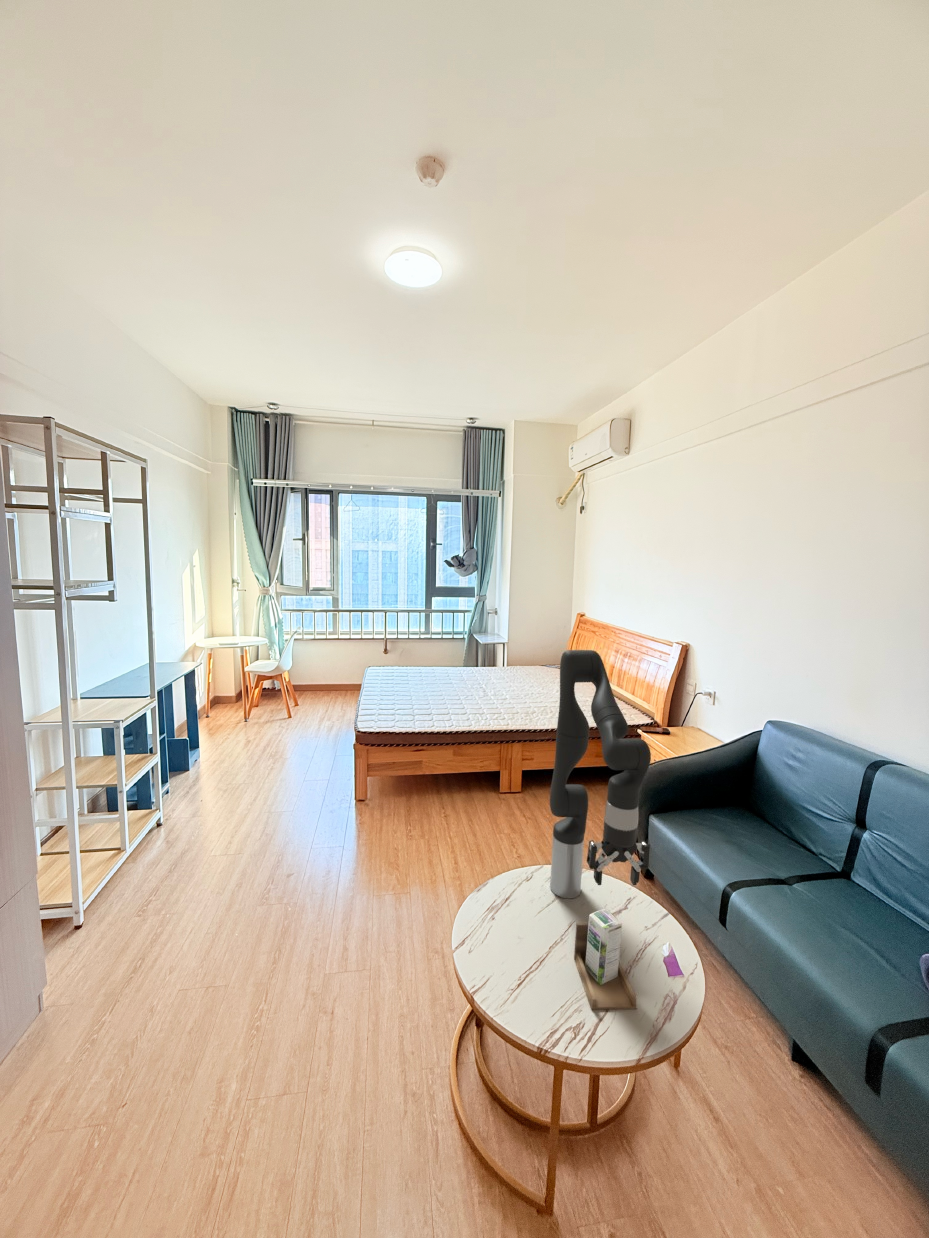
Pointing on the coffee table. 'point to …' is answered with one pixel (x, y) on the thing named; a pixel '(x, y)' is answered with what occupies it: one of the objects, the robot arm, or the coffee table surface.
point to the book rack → (609, 993)
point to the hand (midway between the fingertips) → (615, 883)
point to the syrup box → (603, 946)
